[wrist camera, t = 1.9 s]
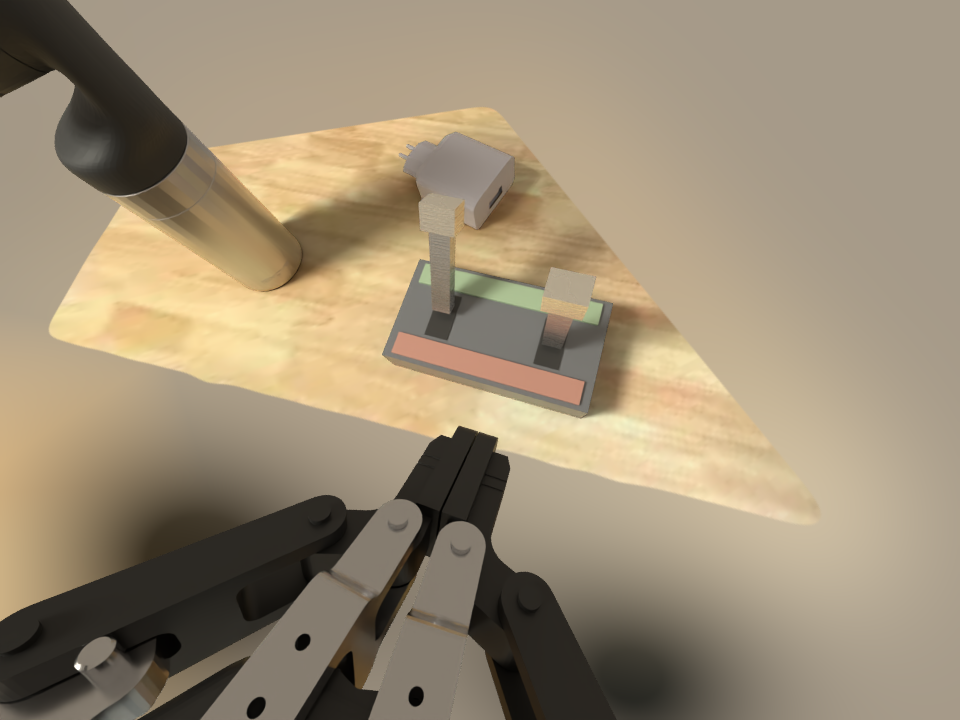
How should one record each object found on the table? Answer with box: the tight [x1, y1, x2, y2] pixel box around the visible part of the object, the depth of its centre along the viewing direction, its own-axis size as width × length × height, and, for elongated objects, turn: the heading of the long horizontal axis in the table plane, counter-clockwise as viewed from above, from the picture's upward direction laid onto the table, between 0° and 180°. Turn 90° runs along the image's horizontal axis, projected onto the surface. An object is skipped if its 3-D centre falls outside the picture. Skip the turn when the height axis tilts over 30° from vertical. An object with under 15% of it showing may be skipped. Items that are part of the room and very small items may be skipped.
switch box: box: [382, 259, 613, 418], centre depth 39 cm, size 12×22×4 cm, turn 73°
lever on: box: [419, 193, 465, 314], centre depth 33 cm, size 2×3×11 cm
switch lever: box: [540, 267, 596, 349], centre depth 30 cm, size 2×3×11 cm
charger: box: [399, 132, 515, 230], centre depth 46 cm, size 5×9×15 cm
